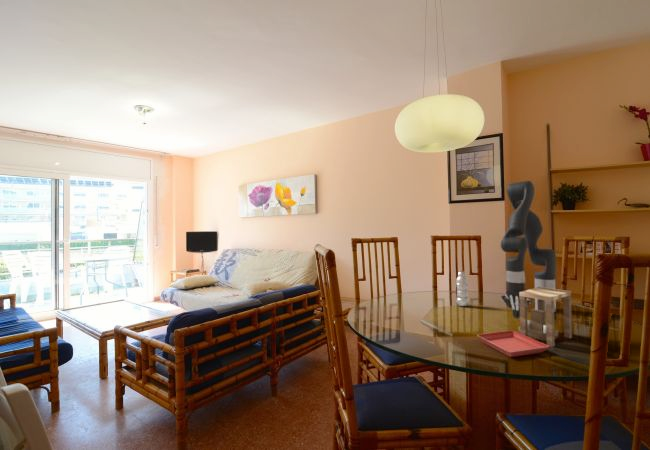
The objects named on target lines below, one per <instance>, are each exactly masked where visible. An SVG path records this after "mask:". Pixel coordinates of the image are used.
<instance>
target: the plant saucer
mask: <svg viewBox="0 0 650 450" xmlns="http://www.w3.org/2000/svg"><path fill="white" fill-rule="evenodd" d="M476 336H477V337H478V339H479V340H480V341H481V342H482V344H485V345H487V346H489V347H490V348H492V349H493V350H495V351H498V352H500V353H501V354H503V355H505V356H507V357H509V358H514V357H520V356H526V355H535V354H541V353H544V352H545V351H546V350H548V349H549V348H550V346H548V345H547V343H546V344H545V343H543V342H542V341H540V340H539V341H538V339H537V340H536V339H535V338H532V337H529V336H528V337H527V336H525V335H523V334H520V333H518V331H515V330H505V331H504V330H503V331H497V332H496V331H495V332H487V333H480V334H477V335H476Z"/></svg>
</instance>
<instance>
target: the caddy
mask: <svg viewBox="0 0 650 450" xmlns="http://www.w3.org/2000/svg"><path fill="white" fill-rule="evenodd" d="M527 321H528V337H530V338H532V337H533V338H532V339H536V338H537V340H539V339H540V340H541V341H542V342H543V341H544V342H547V338H546V323H545V324H544V311H541V310H536V309H535V308H531V309H530V319H527ZM517 328H518V331H517V332H518V333H520V325H519V326H518V327H517ZM554 334H555V340H556V339H559V330H558V329H554ZM540 340H539V341H540Z"/></svg>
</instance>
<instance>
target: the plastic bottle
mask: <svg viewBox="0 0 650 450" xmlns="http://www.w3.org/2000/svg"><path fill="white" fill-rule="evenodd" d="M455 284H456V285H455V286H456V290H457V291H456V293H457V294H456V304H457V306H460V307H468V306H469V304H470V300H469V296H468V285H469V280H468V278H467V277H466V271H463V270H462V271H461V270H460V271H458V273H457V277H456V279H455Z"/></svg>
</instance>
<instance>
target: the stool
mask: <svg viewBox="0 0 650 450" xmlns="http://www.w3.org/2000/svg"><path fill="white" fill-rule="evenodd" d="M527 298H528V299H534V300H535V299H538V310H541V311H544V324H546V338H547V341H546V345H548V346H549V347H551V348H554V347H556V341H555V340H556V339H555V334H554V330H555V312H554V300H556V301H557V300H559V299H562V298H563V299H562V301H563V302H562V303H563V305H562V306H563V337H564V338H566V339H572V338H573V329H572V327H573V325H572V324H573V323H572V321H573V320H572V291H571V290H566V289H559V288H558V289H557V288H555V289H552V288H545V287H537V288H535V287H533V288H529V289H527V290H526V291H522V292H519V301H520V318H519V326H520V334H523V335H525V336H527V337H529V336H528V321H527V320H528V306H527ZM545 300H546V312H545Z"/></svg>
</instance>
